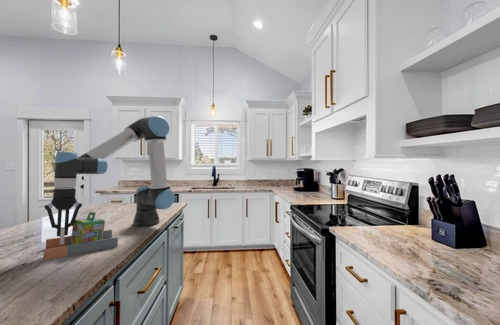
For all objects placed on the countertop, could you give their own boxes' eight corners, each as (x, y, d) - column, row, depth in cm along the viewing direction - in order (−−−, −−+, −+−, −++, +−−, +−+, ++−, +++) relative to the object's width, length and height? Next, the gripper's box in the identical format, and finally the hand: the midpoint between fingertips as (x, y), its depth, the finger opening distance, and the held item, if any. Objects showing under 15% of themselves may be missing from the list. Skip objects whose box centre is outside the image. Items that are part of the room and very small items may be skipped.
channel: (111, 237, 119) (111, 229, 119) (117, 246, 106) (117, 237, 106) (45, 248, 103) (46, 239, 103) (44, 260, 91) (44, 249, 91)
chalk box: (69, 246, 104) (73, 212, 105) (91, 241, 112) (94, 210, 113) (81, 250, 99) (84, 215, 100) (103, 245, 107) (106, 212, 108)
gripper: (82, 186, 108) (79, 238, 107) (45, 187, 100) (42, 243, 99) (84, 188, 102) (81, 243, 101) (44, 189, 94) (41, 248, 93)
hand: (61, 243), depth 100 cm, fingers closed
